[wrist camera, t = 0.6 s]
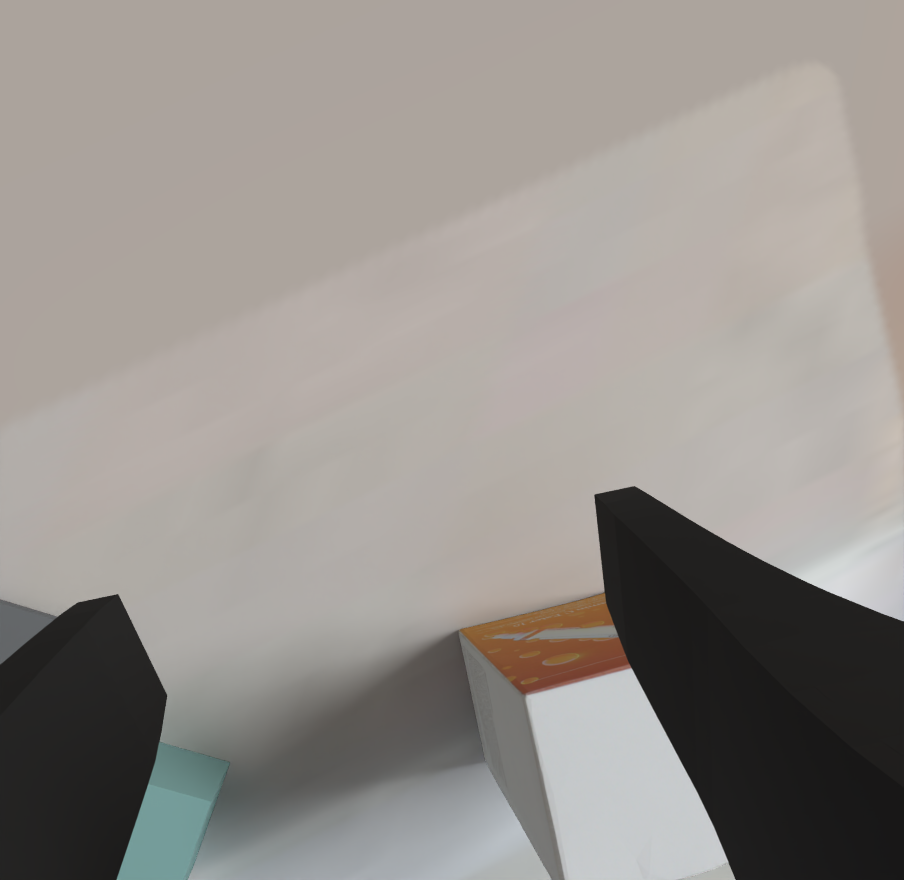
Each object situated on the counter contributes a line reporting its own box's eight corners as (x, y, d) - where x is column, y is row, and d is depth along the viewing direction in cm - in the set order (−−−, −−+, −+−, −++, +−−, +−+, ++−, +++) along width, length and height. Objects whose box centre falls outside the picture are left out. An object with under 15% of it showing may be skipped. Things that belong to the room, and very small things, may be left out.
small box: (613, 587, 34) (772, 627, 22) (643, 718, 34) (824, 838, 21) (453, 626, 33) (520, 694, 20) (481, 764, 33) (570, 922, 20)
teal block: (192, 867, 30) (166, 926, 26) (88, 839, 30) (44, 894, 25) (230, 761, 31) (211, 801, 27) (129, 732, 31) (92, 768, 26)
